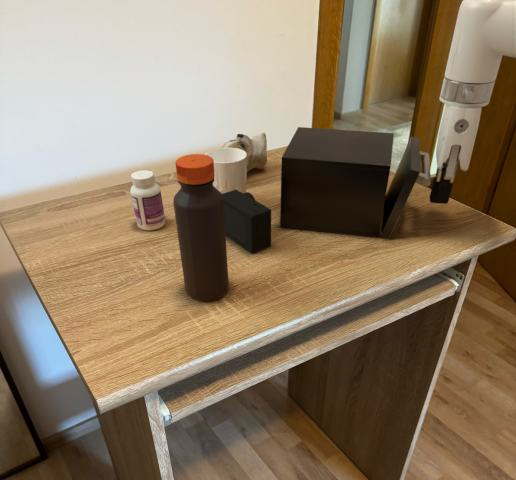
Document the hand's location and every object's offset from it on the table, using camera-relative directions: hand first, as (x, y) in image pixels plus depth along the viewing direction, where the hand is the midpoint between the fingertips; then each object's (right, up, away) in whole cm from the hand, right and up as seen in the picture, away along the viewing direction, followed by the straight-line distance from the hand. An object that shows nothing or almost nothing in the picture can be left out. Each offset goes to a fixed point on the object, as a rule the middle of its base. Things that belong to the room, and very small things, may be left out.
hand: (438, 201), depth 88 cm
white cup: (-39, +2, +9) cm, 40 cm away
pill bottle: (-53, -3, +4) cm, 53 cm away
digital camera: (-35, -7, -1) cm, 35 cm away
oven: (-18, 0, +6) cm, 19 cm away
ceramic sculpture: (-37, +12, +21) cm, 44 cm away
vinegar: (-41, -18, -13) cm, 46 cm away
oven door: (-7, -2, +4) cm, 9 cm away
